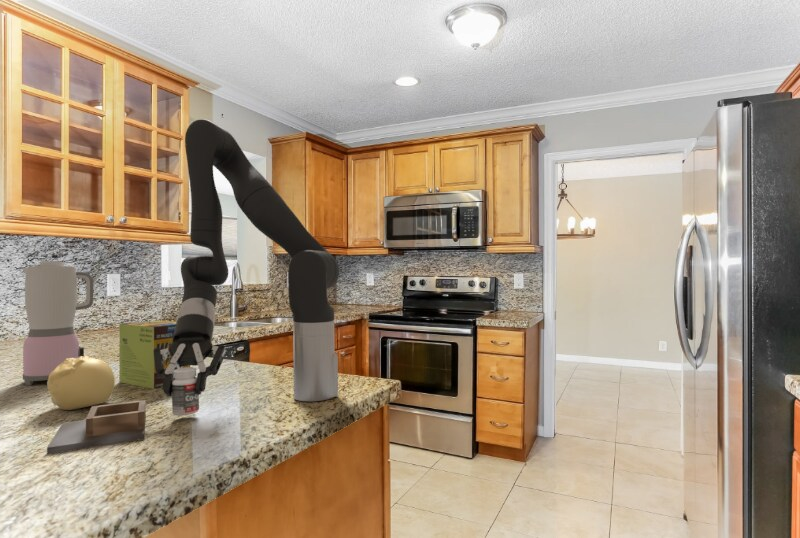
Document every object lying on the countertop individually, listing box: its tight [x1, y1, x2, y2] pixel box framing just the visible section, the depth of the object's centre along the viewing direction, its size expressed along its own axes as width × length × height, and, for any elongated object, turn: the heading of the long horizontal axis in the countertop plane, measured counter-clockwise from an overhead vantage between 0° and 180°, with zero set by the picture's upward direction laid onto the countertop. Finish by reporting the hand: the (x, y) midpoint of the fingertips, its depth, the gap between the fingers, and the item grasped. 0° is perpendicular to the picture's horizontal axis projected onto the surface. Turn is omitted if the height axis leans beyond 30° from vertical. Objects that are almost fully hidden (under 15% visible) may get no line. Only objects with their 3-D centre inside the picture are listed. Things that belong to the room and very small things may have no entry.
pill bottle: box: [171, 366, 200, 417], centre depth 91 cm, size 5×5×8 cm
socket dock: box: [46, 399, 147, 455], centre depth 82 cm, size 13×14×4 cm
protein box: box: [118, 320, 191, 390], centre depth 123 cm, size 10×15×16 cm
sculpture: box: [46, 355, 116, 411], centre depth 100 cm, size 12×12×11 cm
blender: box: [21, 260, 95, 386], centre depth 127 cm, size 16×12×32 cm
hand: (183, 393), depth 89 cm, fingers closed on pill bottle, 4 cm apart
